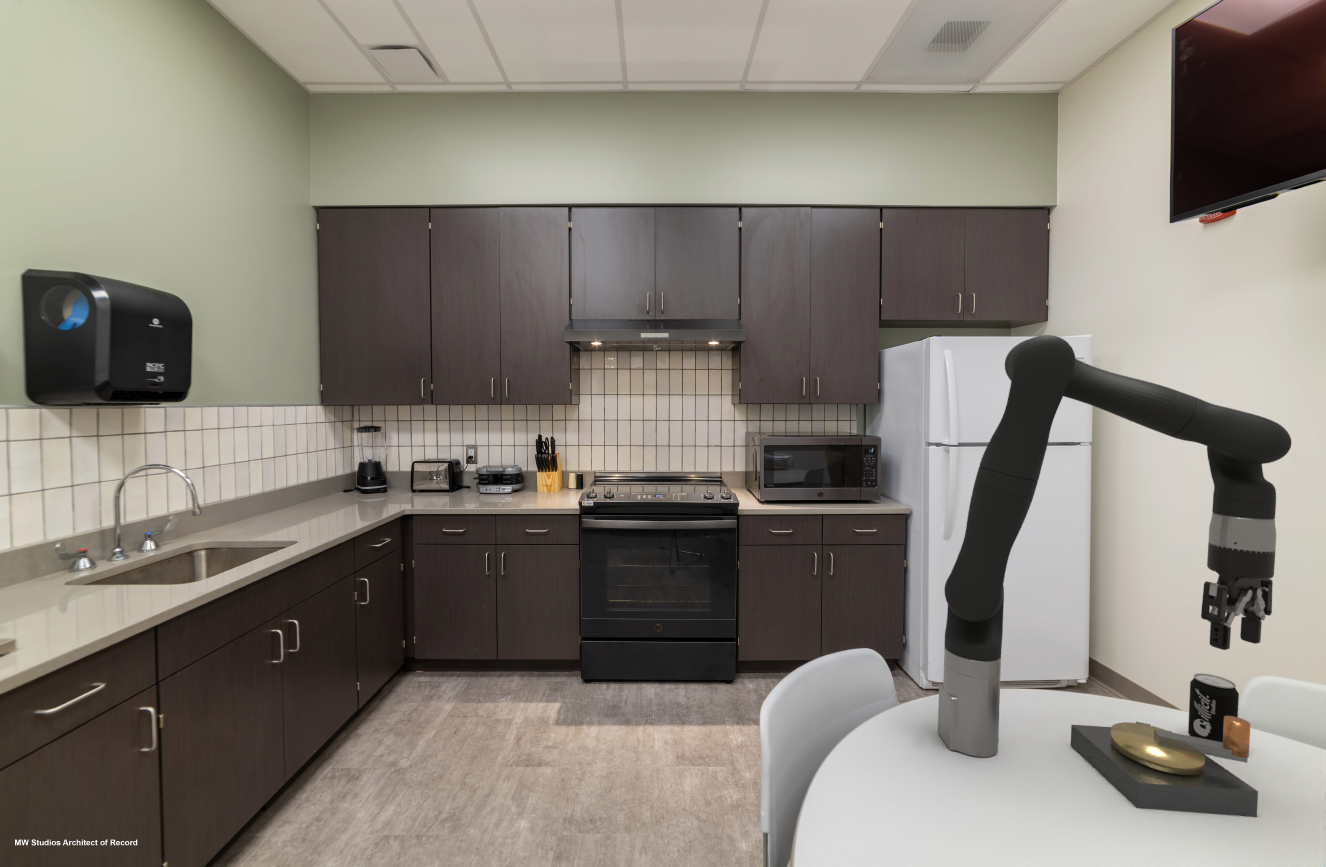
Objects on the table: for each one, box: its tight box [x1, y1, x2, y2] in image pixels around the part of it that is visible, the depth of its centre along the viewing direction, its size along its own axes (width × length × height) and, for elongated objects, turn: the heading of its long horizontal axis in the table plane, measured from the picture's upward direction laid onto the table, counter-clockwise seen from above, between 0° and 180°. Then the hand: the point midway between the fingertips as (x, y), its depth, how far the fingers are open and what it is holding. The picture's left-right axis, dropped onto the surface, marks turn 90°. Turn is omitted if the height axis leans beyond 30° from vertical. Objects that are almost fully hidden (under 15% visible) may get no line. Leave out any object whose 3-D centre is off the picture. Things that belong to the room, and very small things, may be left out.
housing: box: [1070, 724, 1259, 818], centre depth 97 cm, size 17×17×4 cm
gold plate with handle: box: [1110, 716, 1251, 775], centre depth 96 cm, size 18×13×8 cm
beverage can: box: [1187, 672, 1240, 742], centre depth 108 cm, size 7×7×12 cm
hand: (1235, 644), depth 92 cm, fingers open, 8 cm apart
